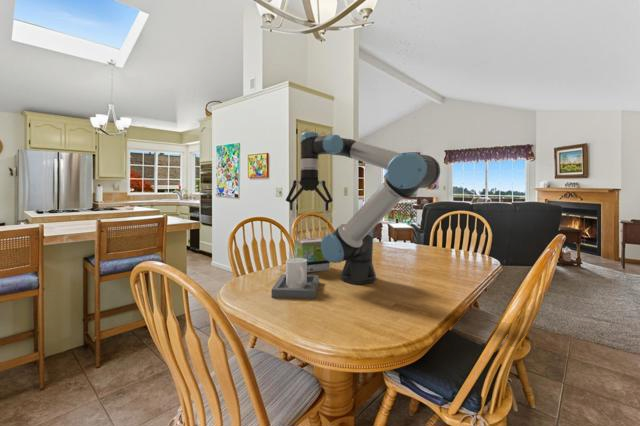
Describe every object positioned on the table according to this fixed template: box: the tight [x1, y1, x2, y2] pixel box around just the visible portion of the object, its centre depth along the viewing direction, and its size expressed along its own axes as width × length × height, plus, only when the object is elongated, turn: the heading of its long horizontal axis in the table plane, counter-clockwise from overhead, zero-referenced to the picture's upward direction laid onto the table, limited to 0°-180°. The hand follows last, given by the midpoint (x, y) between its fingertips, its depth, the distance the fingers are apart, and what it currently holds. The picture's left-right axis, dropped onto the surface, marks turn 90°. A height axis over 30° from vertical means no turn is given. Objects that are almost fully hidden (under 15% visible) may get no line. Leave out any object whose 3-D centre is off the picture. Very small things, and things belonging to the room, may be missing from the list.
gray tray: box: [271, 273, 320, 300], centre depth 129 cm, size 16×20×3 cm
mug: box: [285, 257, 308, 288], centre depth 128 cm, size 12×8×10 cm
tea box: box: [293, 237, 331, 273], centre depth 158 cm, size 15×10×15 cm, turn 117°
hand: (309, 218), depth 143 cm, fingers open, 13 cm apart
